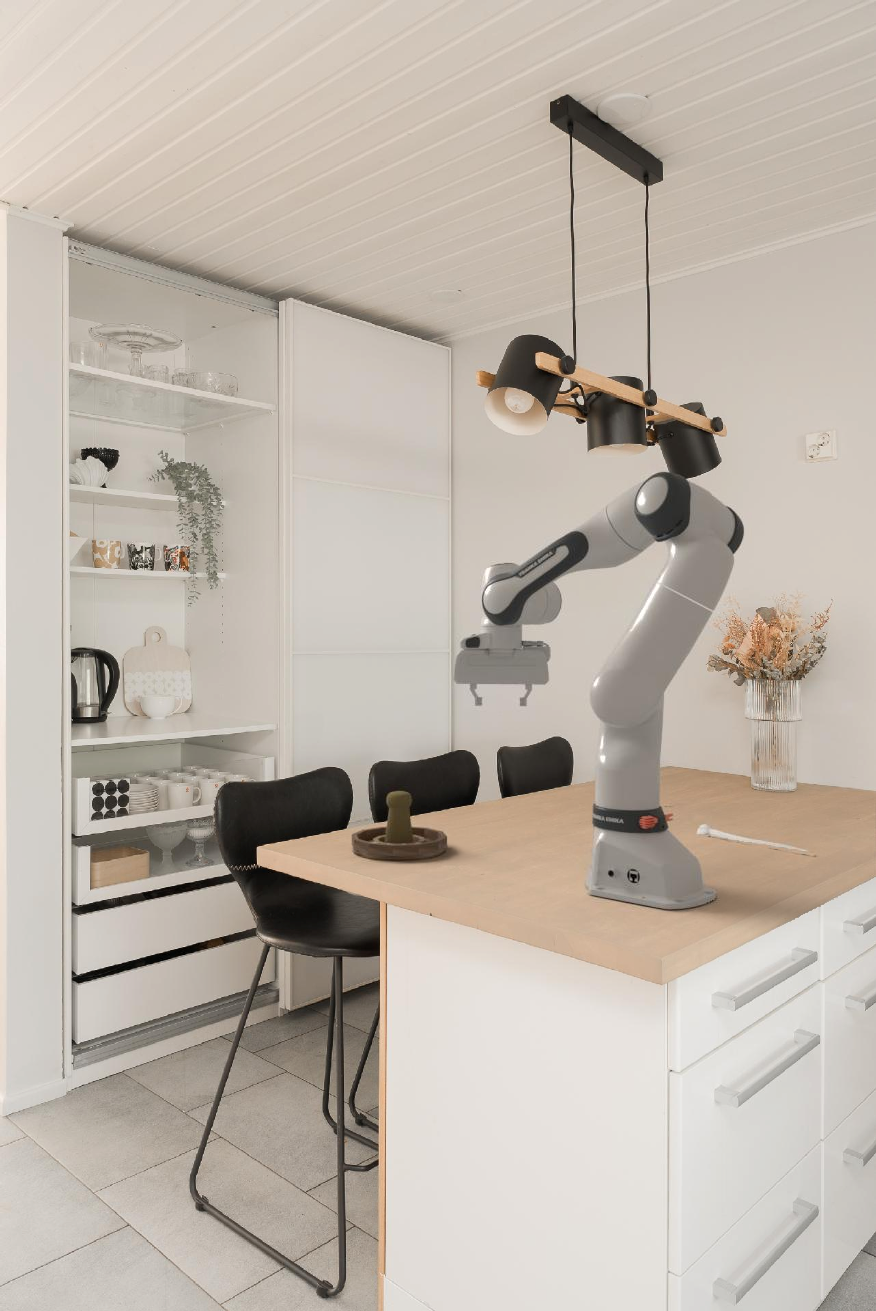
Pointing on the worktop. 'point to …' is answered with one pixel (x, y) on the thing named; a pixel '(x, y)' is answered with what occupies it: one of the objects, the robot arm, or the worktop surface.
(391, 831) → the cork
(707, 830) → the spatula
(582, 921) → the worktop surface
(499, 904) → the worktop surface
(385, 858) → the tray
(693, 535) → the robot arm
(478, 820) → the worktop surface
